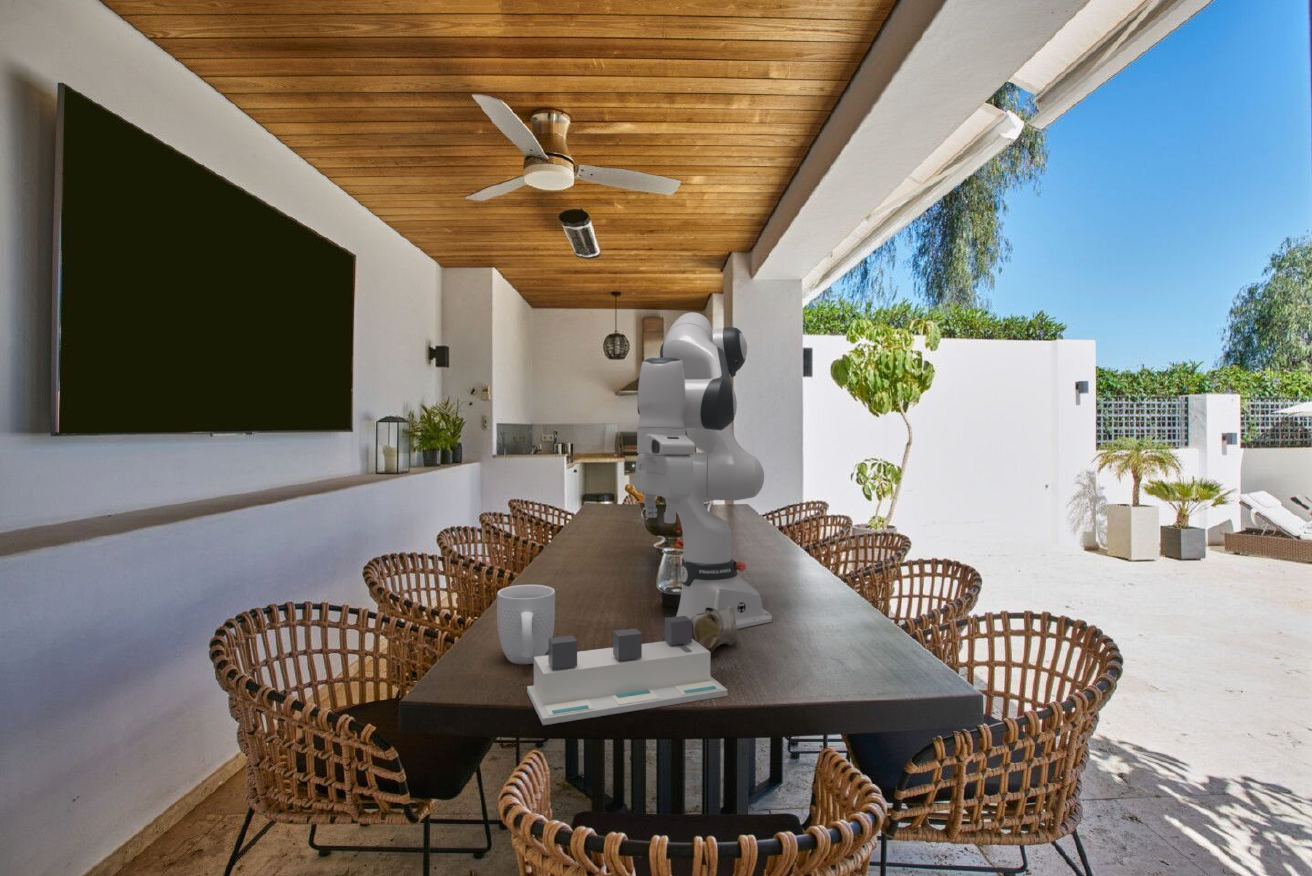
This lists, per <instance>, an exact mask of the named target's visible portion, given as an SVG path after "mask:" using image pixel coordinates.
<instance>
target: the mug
mask: <svg viewBox="0 0 1312 876" xmlns="http://www.w3.org/2000/svg"><path fill="white" fill-rule="evenodd" d="M496 599H497V601H496V621H497V622H496V624H497V631H498V638H499V642H500V646H501V649H502V651H503V653H504V656H505V657H506V658H507V661H509V662H510V663H512V664H516V665H530V664H534V657H538V656H546V655H547V653H548V649H549V638H553V636H554V631H555V630H554V629H555V620H556V590H555V589H554V588H553V587H550V586H548V585H544V584H543V585H541V584H519V585H517V584H516V585H511V586H507V587H504V588H501V589H499V590H498V591H497V595H496Z"/></svg>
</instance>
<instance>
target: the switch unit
mask: <svg viewBox="0 0 1312 876" xmlns="http://www.w3.org/2000/svg"><path fill="white" fill-rule="evenodd" d="M711 654H712V653H711V652H710V651H708V650H707V649H706V648H704V647H703V646H702V645H700V644H699V643H697V642H696V641H695V640H693V639H692V643H685V644H677V645H670V644H669V643H668V642H666V641H665V640H664V641H655V642H646V643H642V658H634V659H626V660H618V659H617V658H616V657H615V656H614V655H613V647H605V648H598V649H596V648H595V649H590V650H582V651H581V650H580V651H577V666H572V667H564V668H556V669H552V668H551V666H550V664H549V663H548V654H546V655H545V656H538V657H534V663H533V685H527V686H526V689H527V690H526V693H527V695H528V698H529V699H530V701H531V703H532V705H533V707H534V710H535V712H536V714H537V715H538V718H539V720H540V723H541V725H542V726H547V725H553V724H558V723H559V724H560V723H566V722H572V721H578V720H586V719H591V718H592V719H593V718H598V717H602V716H610V715H611V716H612V715H616V714H623V713H629V712H634V711H641V710H649V709H654V708H659V707H665V706H673V705H679V704H685V703H691V702H697V701H704V700H709V699H711V700H712V699H717V698H722V697H723V698H724V697H728V691H729V690H728V689H727V688H726V687H725V686H723V685H722V684H721V683H720V682H719V681H717V680H716V679H715V678H714V677H712V676H711Z"/></svg>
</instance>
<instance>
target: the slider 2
mask: <svg viewBox="0 0 1312 876" xmlns="http://www.w3.org/2000/svg"><path fill="white" fill-rule="evenodd" d="M664 641H666V642H668V643H669V644H670V645H677V644H685V643H692V620H691V619H689V618H688V617H686V616H678V617H676V616H670V617H664Z"/></svg>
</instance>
